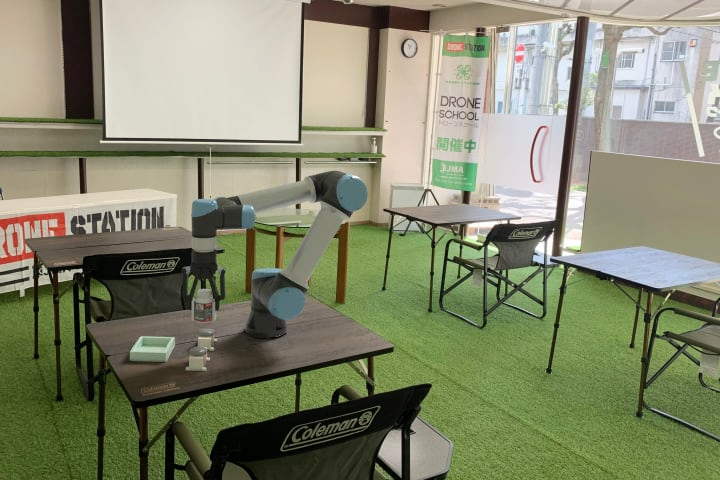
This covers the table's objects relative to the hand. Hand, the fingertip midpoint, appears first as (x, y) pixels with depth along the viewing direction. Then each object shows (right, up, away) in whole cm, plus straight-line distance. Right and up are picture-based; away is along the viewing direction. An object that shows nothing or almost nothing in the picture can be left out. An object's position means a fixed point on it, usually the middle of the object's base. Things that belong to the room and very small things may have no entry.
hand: (203, 319), depth 200 cm
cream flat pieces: (-1, -12, +2) cm, 12 cm away
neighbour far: (-2, -10, +10) cm, 14 cm away
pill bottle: (0, -1, 0) cm, 1 cm away
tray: (-17, -11, +1) cm, 20 cm away
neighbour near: (-1, -13, -5) cm, 14 cm away
